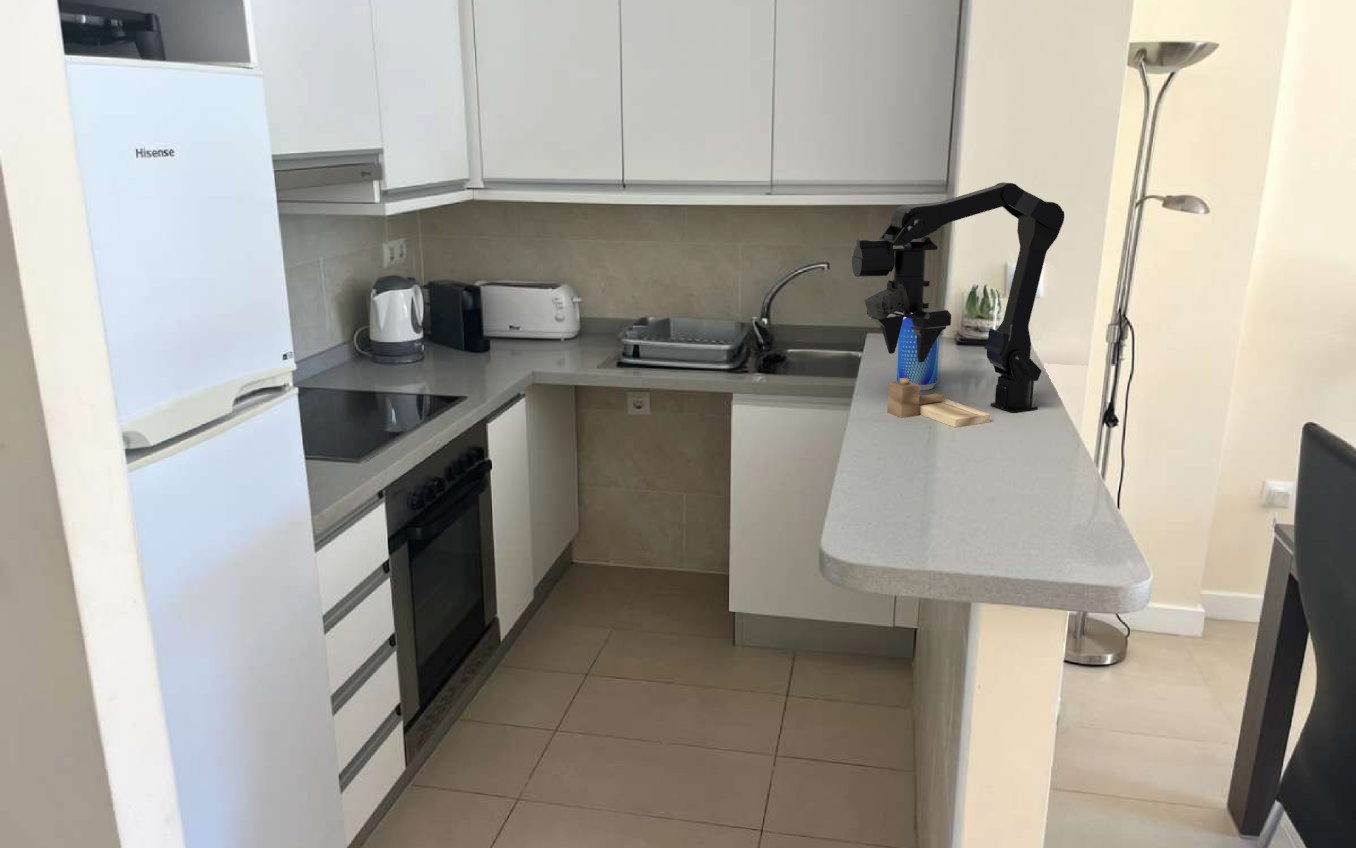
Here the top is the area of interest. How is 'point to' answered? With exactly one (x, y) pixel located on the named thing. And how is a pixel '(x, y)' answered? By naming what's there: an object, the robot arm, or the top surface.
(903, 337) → the beer can
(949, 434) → the top surface
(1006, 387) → the robot arm
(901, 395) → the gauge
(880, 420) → the top surface
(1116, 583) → the top surface
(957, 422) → the board
